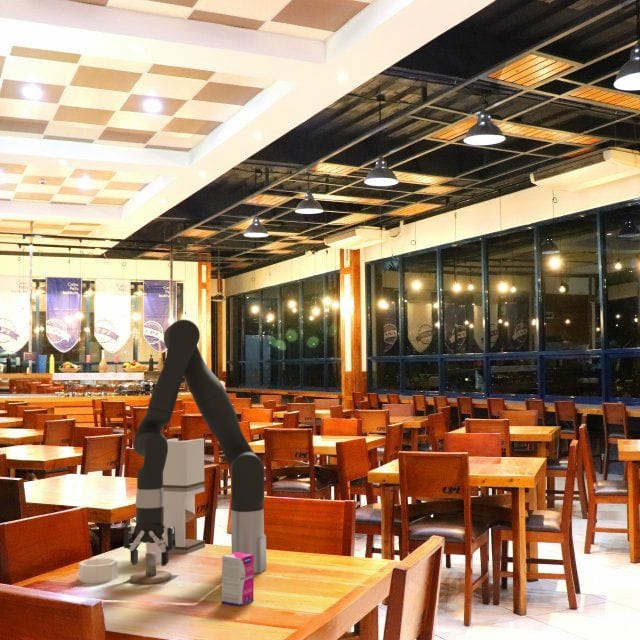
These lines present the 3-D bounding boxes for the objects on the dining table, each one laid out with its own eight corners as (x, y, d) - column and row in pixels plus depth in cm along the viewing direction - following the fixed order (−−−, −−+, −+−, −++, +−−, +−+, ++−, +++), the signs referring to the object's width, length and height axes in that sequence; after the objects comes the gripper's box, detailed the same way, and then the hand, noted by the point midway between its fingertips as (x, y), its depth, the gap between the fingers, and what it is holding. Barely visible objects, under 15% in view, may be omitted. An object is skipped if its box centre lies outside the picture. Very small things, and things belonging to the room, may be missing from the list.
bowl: (122, 576, 231) (122, 558, 231) (106, 585, 221) (106, 566, 222) (90, 575, 233) (90, 557, 233) (73, 584, 223) (73, 565, 224)
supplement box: (240, 607, 198) (239, 558, 199) (221, 603, 202) (220, 555, 202) (254, 601, 203) (254, 553, 204) (235, 598, 206) (235, 551, 207)
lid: (177, 574, 229) (177, 549, 230) (162, 584, 219) (161, 557, 219) (140, 573, 232) (140, 548, 232) (123, 583, 221) (123, 556, 221)
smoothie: (163, 567, 242) (162, 518, 243) (141, 567, 242) (141, 518, 243) (167, 562, 248) (167, 514, 249) (146, 562, 248) (146, 515, 249)
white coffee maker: (187, 553, 259) (186, 441, 262) (158, 551, 263) (157, 441, 265) (205, 546, 270) (203, 438, 272) (176, 544, 274) (175, 438, 276)
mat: (178, 577, 229) (178, 575, 229) (164, 586, 219) (164, 584, 219) (138, 576, 231) (138, 574, 231) (122, 585, 221) (122, 583, 221)
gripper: (179, 503, 229) (179, 563, 228) (131, 502, 232) (131, 560, 231) (168, 507, 222) (168, 569, 220) (119, 506, 225) (119, 566, 224)
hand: (149, 564), depth 226 cm, fingers open, 8 cm apart
